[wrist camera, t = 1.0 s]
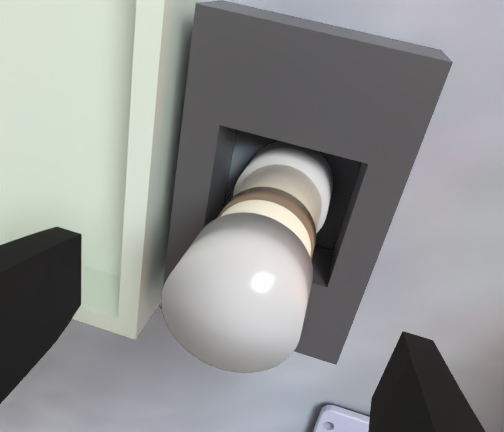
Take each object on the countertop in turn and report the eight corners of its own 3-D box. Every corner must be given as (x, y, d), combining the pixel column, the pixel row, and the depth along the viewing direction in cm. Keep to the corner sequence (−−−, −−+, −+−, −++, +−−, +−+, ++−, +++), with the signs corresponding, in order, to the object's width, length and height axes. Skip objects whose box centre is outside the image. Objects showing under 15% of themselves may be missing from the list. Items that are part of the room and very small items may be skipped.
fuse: (320, 230, 18) (283, 389, 11) (240, 207, 18) (155, 347, 11) (343, 152, 16) (318, 280, 9) (256, 129, 17) (168, 236, 10)
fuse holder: (340, 321, 19) (336, 364, 17) (183, 273, 20) (160, 308, 18) (440, 49, 14) (452, 62, 12) (222, 0, 15) (195, 3, 13)
